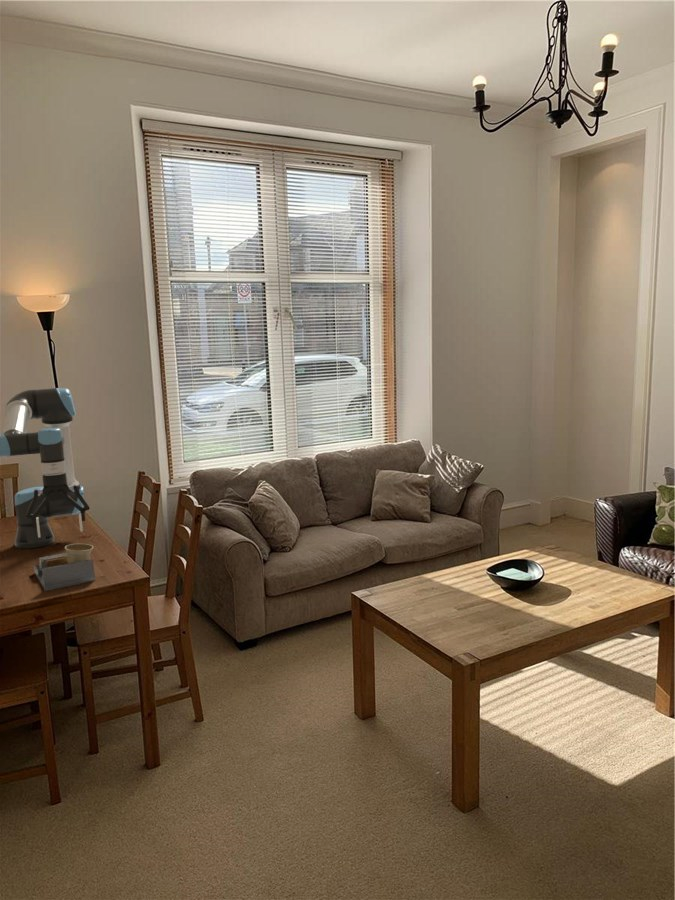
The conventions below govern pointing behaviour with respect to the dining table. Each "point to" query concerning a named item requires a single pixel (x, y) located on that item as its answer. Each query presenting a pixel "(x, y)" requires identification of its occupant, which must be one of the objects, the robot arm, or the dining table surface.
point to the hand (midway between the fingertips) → (60, 533)
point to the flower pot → (78, 552)
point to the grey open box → (65, 574)
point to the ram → (53, 560)
